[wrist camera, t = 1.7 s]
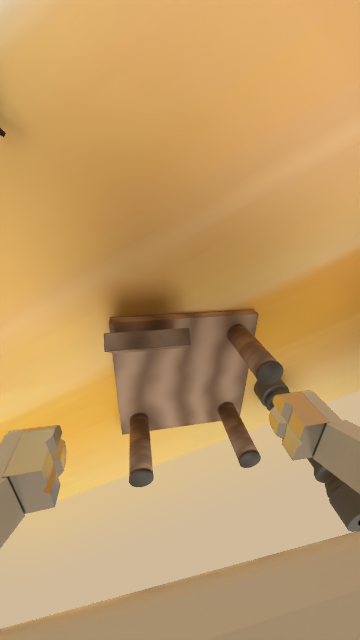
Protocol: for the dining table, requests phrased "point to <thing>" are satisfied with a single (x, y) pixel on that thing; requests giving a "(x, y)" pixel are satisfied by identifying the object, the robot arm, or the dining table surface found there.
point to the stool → (189, 381)
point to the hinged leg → (146, 340)
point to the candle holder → (321, 468)
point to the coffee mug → (2, 132)
